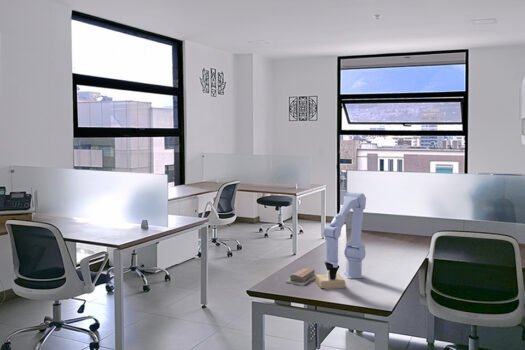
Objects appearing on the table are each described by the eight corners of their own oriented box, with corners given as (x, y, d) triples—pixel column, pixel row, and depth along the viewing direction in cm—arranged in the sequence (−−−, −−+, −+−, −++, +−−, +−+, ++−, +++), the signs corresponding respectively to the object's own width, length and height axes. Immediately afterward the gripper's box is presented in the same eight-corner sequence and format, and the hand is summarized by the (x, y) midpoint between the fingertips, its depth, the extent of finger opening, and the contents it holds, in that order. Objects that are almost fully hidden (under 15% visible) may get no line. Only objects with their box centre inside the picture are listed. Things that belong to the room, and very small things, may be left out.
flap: (318, 279, 249) (318, 269, 248) (341, 278, 250) (341, 268, 249) (321, 282, 243) (321, 272, 243) (344, 281, 244) (344, 272, 244)
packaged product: (301, 265, 268) (318, 268, 263) (300, 274, 268) (318, 277, 263) (285, 274, 252) (303, 277, 247) (285, 283, 253) (303, 286, 248)
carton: (315, 281, 255) (315, 274, 255) (338, 280, 256) (338, 273, 256) (320, 288, 243) (320, 281, 243) (345, 287, 245) (345, 280, 244)
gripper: (320, 247, 252) (320, 274, 253) (327, 254, 238) (327, 282, 239) (334, 247, 253) (334, 273, 254) (342, 254, 238) (341, 282, 240)
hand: (331, 278), depth 246 cm, fingers open, 4 cm apart
